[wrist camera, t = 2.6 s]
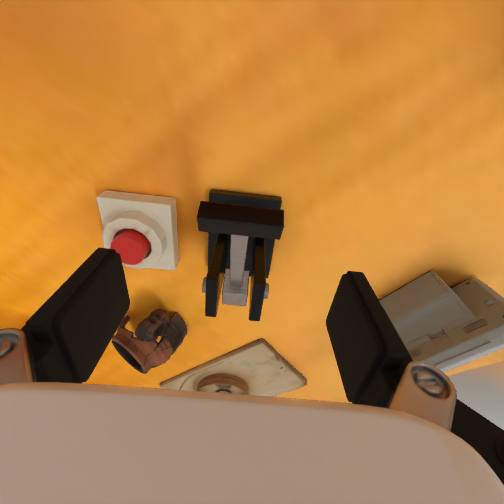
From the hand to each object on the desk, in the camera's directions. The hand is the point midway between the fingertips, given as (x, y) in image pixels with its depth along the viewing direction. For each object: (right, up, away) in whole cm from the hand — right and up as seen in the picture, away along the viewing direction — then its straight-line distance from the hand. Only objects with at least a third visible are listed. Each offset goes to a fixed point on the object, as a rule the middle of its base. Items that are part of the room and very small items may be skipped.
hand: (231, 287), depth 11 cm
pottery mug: (-14, -9, +30) cm, 35 cm away
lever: (0, +2, +10) cm, 10 cm away
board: (-3, -24, +39) cm, 46 cm away
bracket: (0, +4, +21) cm, 22 cm away
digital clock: (+25, -6, +27) cm, 37 cm away
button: (-12, +2, +18) cm, 22 cm away
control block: (-12, +4, +21) cm, 25 cm away
